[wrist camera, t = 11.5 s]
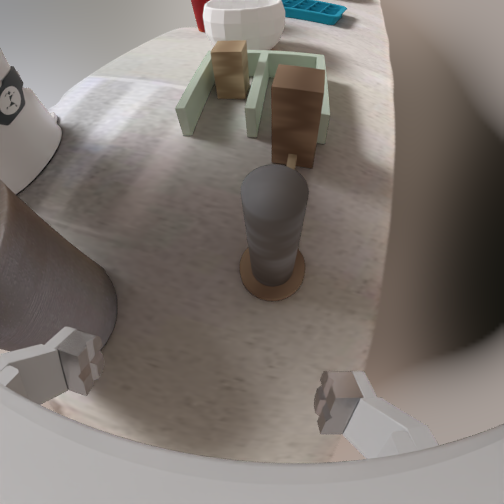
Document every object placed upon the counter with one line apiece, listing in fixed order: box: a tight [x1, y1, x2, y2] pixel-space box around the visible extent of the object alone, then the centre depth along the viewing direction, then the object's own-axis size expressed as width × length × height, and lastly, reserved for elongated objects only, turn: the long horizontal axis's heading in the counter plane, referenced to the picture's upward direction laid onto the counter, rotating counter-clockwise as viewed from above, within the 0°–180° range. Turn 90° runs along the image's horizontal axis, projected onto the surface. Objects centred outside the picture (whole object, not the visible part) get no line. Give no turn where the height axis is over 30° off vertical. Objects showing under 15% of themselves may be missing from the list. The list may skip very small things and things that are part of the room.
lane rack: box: [175, 50, 330, 144], centre depth 30 cm, size 15×14×4 cm
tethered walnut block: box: [240, 64, 325, 301], centre depth 21 cm, size 5×18×10 cm, turn 168°
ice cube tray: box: [281, 0, 347, 25], centre depth 47 cm, size 12×20×3 cm, turn 65°
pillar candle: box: [0, 180, 117, 351], centre depth 15 cm, size 10×10×15 cm
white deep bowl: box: [203, 0, 285, 50], centre depth 34 cm, size 12×12×10 cm
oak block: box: [210, 40, 250, 99], centre depth 30 cm, size 4×4×7 cm
